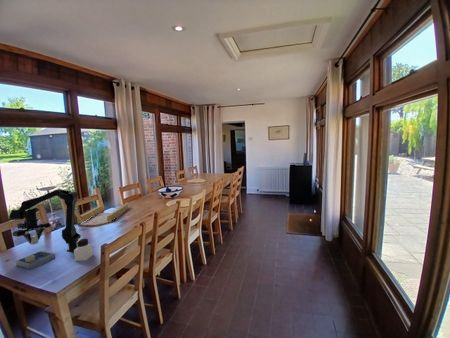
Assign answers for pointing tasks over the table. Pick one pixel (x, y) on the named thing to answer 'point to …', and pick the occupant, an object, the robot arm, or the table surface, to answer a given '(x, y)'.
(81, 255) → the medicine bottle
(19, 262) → the dish
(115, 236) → the table surface
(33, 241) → the pebble
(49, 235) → the table surface
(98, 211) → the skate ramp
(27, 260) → the pebble
